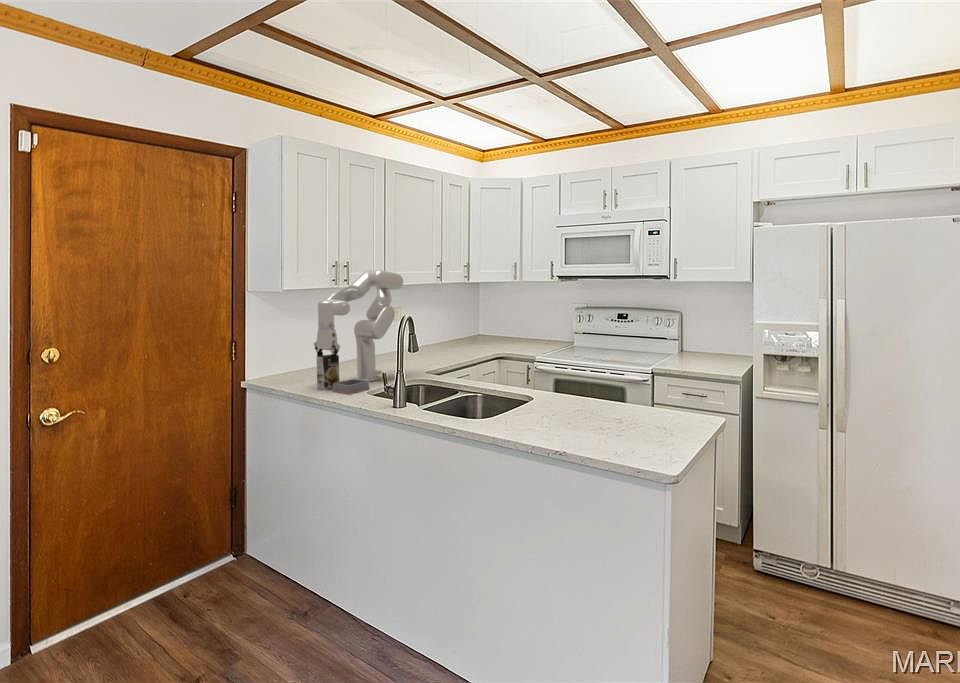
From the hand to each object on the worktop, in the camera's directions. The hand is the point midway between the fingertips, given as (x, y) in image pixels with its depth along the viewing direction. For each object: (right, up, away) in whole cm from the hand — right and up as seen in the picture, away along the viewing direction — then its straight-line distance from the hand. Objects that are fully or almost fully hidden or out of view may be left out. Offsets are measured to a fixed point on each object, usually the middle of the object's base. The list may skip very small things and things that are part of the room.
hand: (327, 361), depth 277 cm
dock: (+13, -14, -4) cm, 19 cm away
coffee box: (0, -13, +2) cm, 14 cm away
